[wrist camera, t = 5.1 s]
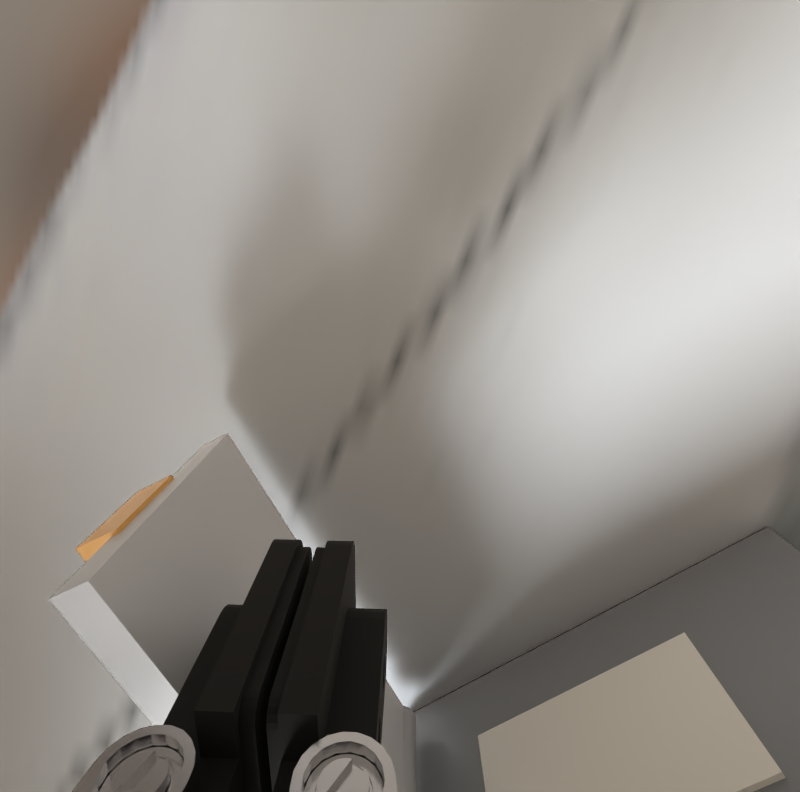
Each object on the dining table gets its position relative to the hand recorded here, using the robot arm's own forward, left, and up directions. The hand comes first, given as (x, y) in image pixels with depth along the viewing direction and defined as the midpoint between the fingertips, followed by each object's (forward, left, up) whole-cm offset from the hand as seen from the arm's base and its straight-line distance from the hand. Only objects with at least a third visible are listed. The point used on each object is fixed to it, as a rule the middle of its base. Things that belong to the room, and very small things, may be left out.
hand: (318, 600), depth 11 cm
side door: (-3, -2, -4) cm, 6 cm away
